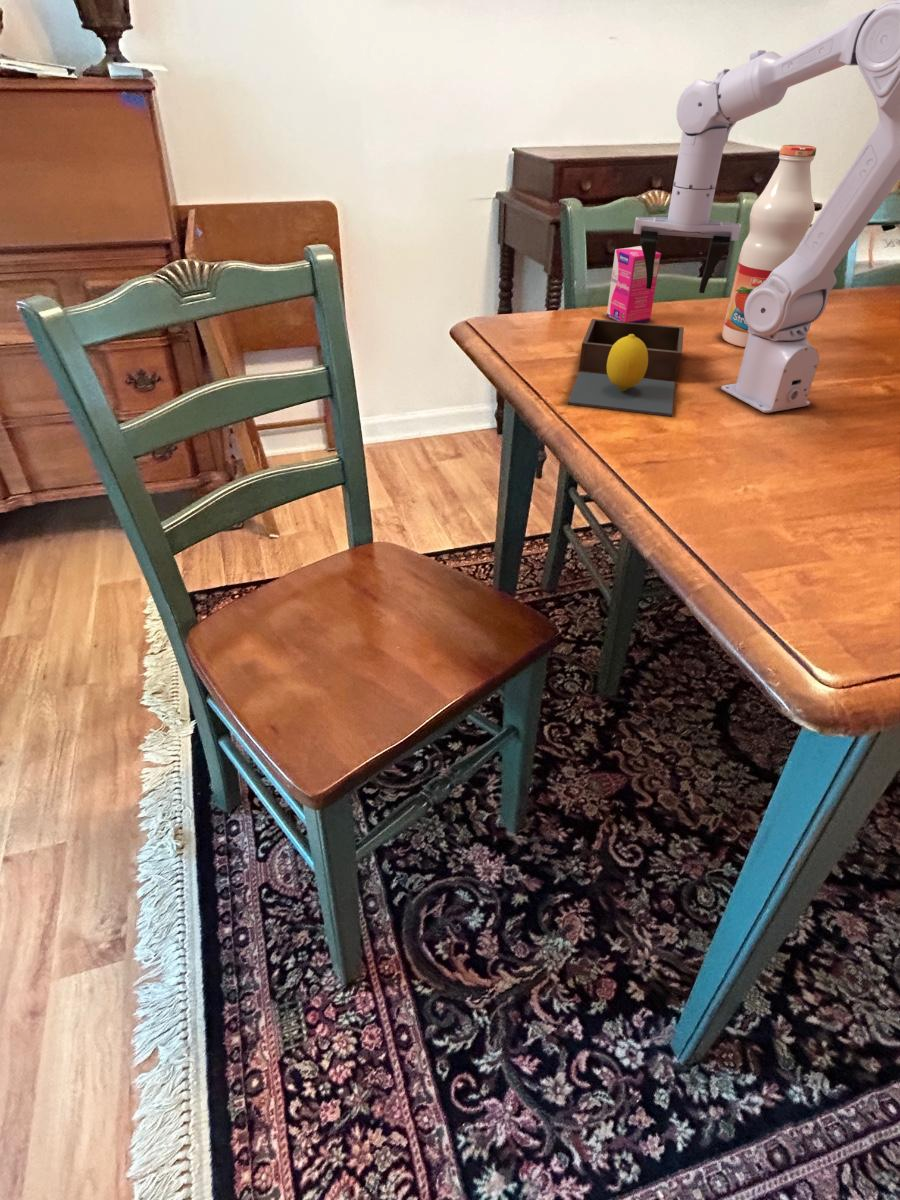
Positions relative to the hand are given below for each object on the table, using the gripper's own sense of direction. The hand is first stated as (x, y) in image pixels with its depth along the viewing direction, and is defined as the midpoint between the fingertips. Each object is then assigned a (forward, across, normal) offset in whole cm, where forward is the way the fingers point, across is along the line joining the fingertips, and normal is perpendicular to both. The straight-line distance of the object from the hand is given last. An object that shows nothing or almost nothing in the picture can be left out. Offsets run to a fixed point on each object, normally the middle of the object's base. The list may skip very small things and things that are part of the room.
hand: (675, 289), depth 111 cm
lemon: (+10, +5, +17) cm, 20 cm away
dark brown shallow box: (+10, +5, +4) cm, 12 cm away
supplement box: (+11, +7, -19) cm, 23 cm away
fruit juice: (+11, -14, -13) cm, 22 cm away
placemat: (+10, +5, +17) cm, 20 cm away
